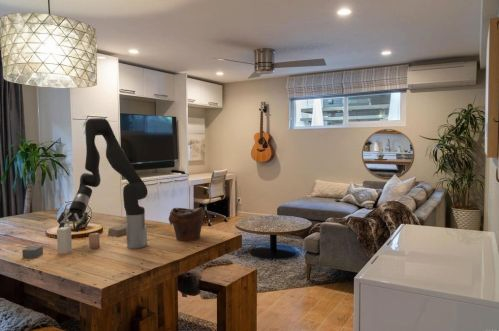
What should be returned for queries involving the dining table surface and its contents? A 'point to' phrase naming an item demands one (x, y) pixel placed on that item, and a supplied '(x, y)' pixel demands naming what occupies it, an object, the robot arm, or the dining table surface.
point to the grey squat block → (32, 251)
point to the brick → (118, 230)
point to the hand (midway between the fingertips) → (68, 231)
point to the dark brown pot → (187, 223)
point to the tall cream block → (64, 240)
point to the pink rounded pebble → (94, 240)
